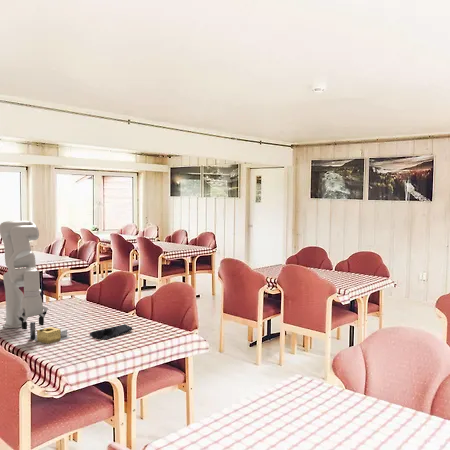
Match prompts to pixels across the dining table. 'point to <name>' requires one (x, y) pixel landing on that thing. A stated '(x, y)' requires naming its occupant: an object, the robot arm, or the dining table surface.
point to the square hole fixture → (50, 335)
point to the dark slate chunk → (110, 332)
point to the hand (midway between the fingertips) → (33, 327)
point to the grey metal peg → (32, 330)
